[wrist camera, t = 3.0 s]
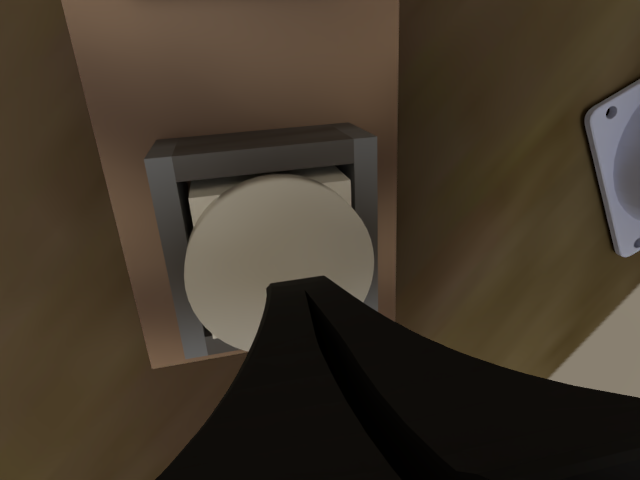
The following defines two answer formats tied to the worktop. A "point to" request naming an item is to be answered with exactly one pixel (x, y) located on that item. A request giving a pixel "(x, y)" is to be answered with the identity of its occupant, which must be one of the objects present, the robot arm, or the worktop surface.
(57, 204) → the worktop surface
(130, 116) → the knob backing plate
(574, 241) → the worktop surface
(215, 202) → the knob
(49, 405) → the worktop surface
